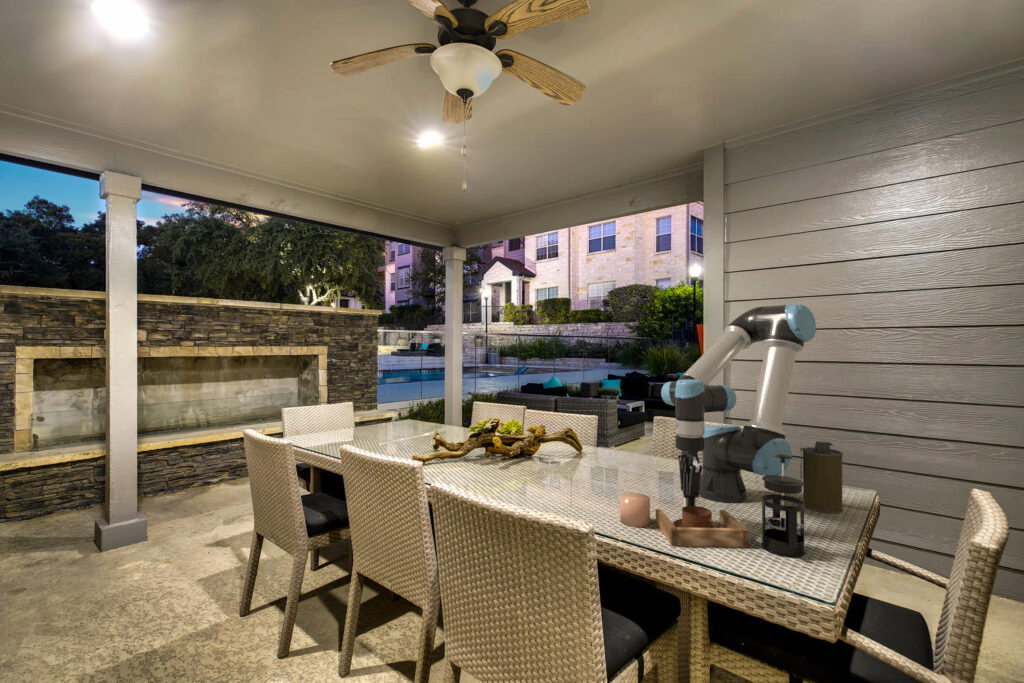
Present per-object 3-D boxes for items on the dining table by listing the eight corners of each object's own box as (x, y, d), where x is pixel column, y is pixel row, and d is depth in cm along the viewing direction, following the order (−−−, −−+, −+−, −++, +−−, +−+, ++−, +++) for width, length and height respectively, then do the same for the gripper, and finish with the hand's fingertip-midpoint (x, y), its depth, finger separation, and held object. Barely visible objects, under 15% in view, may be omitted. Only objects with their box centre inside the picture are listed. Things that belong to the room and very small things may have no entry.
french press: (755, 538, 122) (755, 449, 122) (795, 541, 120) (795, 450, 120) (771, 559, 110) (770, 460, 111) (815, 562, 109) (815, 462, 109)
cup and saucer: (728, 533, 126) (728, 510, 126) (710, 547, 117) (710, 522, 117) (684, 521, 134) (684, 500, 134) (664, 533, 125) (664, 510, 126)
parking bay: (724, 524, 131) (724, 510, 132) (749, 546, 117) (749, 530, 117) (655, 523, 132) (655, 509, 132) (671, 545, 118) (671, 529, 118)
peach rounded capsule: (645, 517, 137) (645, 493, 137) (653, 528, 129) (653, 502, 129) (617, 516, 137) (618, 492, 137) (623, 527, 129) (623, 501, 129)
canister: (839, 504, 148) (839, 440, 148) (846, 515, 139) (846, 447, 139) (798, 500, 153) (798, 437, 153) (803, 510, 143) (803, 443, 143)
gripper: (669, 430, 139) (669, 511, 139) (683, 439, 126) (683, 528, 126) (695, 431, 139) (694, 511, 139) (712, 440, 126) (712, 529, 126)
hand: (689, 519), depth 132 cm, fingers closed
